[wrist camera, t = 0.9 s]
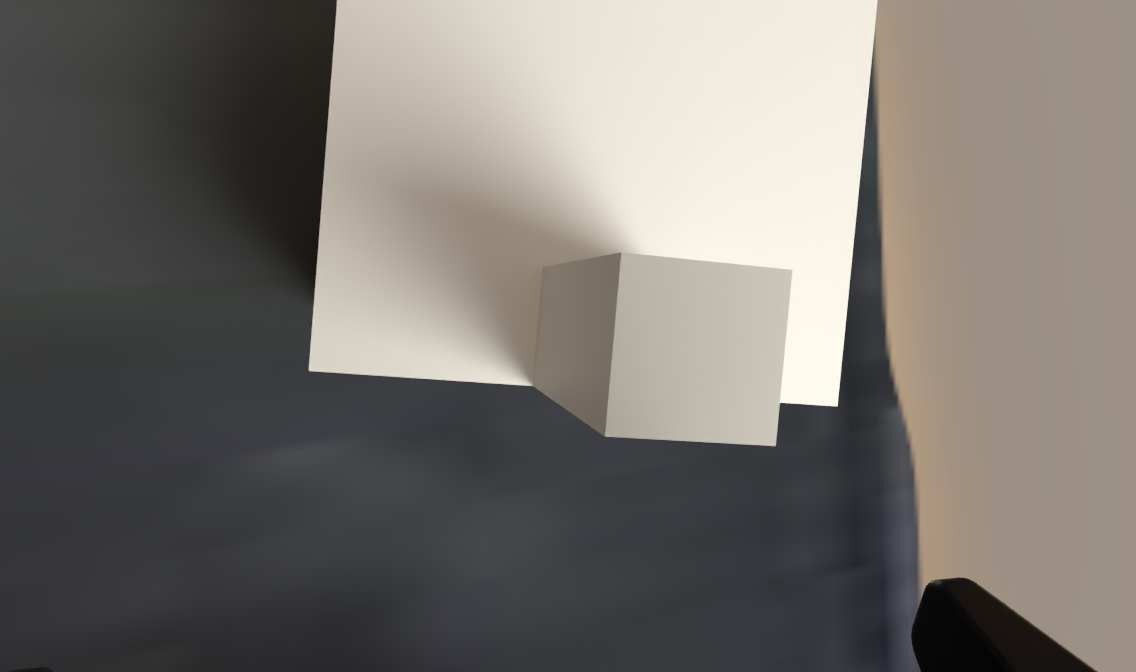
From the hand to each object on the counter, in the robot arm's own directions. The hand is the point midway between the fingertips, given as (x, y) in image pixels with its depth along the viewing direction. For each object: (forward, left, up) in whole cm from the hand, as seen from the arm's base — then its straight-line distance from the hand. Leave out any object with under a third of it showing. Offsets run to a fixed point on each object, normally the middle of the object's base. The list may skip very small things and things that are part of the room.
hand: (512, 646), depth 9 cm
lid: (+5, -6, -10) cm, 13 cm away
